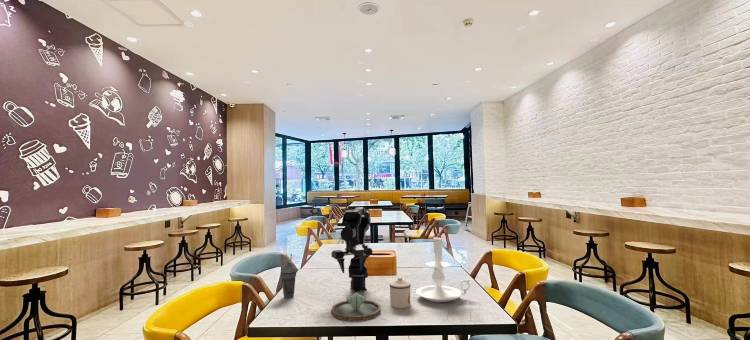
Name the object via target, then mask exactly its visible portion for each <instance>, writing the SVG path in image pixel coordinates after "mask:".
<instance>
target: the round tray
mask: <svg viewBox="0 0 750 340" xmlns="http://www.w3.org/2000/svg"><path fill="white" fill-rule="evenodd" d="M381 306H382V305H381V304H379V303H378V302H376V301H374V300H368V299H365V301H364V302H363V303H362V304H361V307H360V308H359V309H358V310H355V309H353V308H352V306H351V304H350V303H349V302H348V301H347V300H342V301H339V302H337V303H336V304H335V303H334V304H333V305H332V307H331V309H330V314H331V315H332V316H333V317H334V318H335V319H337V320H342V321H345V322H360V321H361V322H362V320H363V321H367V320H366V319H368V320H371V319H374V318H377V317H378V316H379V315H380V314H382V313H381V312H382V310H381Z"/></svg>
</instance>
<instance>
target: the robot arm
mask: <svg viewBox="0 0 750 340" xmlns="http://www.w3.org/2000/svg"><path fill="white" fill-rule="evenodd" d="M341 220H342V222H341V226H342V227H343V226H344V228H342V229H341V231H340V238H341V239H342V240H343V241H344V242H345V248H344V251H343V250H341V249H336V250H332V251H331V253H330V254H331V257H332V258H333V259H335V260H336V261H337V262H338V266H339V267H340V270H341V272H342V274H345V260H346V258H345V256H353V257H351V259H350V262H349V263H350V264H349V265H348V277H349V278H350V279H351V280H350V287H349V289H350V290H352V292H353V291H354V292H355V293H358V292H362V291H363V292H364V291H367V290H368V288H366V279H367V278H369V273H368V272H369V271H368V268H367V265H366V261H367V259H368V258H369V257H371V255H373V249H372V248H371V247H369V246H368V244H367V243H365V242H366V233H367V232H368V230H369V229H370V225H371V220H372V219H371V215H370V213H369V212H368V211H367V210H366V208H365V207H362V206H361V207H355V208H354V209H351V210H345V211H344V213H343V215H342V219H341Z"/></svg>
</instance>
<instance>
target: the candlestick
mask: <svg viewBox="0 0 750 340" xmlns="http://www.w3.org/2000/svg"><path fill="white" fill-rule="evenodd" d="M433 253H434V261H428V262H425V265H426V266H427V267H431V268H433V269H434V271H433V273H432V274H431V278H432V281H433V283H435V285H425V286H421V287H419V288H417V289H416V290H415V293H416V294H417V295H418V296H419V297H421V298H423V299H424V300H427V301H430V302H434V303H435V302H436V303H446V302H452V301H454V300H456V299H457V298H460V297H462V296H463V295H464V296H465V295H466V294H467V291H468V290H469V288H470V281H471V279H462V280H461V281H459V284H458V286H459V288H460V289H461V290H460V289H458V288H456V287H452V286H448V285H447V286H446V285H442V284H443V283H444V281H445V279H446V276H445V274H444V272H443V269H444V268H447V267H450V266H451V265H452V264H451V263H449V262H446V261H442V260H443V238H441V237H439V236H438V237H437V236H435V237H433ZM463 283H467V286H466V287H465V288H464V287H462V284H463ZM462 291H463V292H462Z"/></svg>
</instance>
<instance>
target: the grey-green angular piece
mask: <svg viewBox="0 0 750 340" xmlns="http://www.w3.org/2000/svg"><path fill="white" fill-rule="evenodd" d="M365 300H367V298H366V297H365V296H363V295H361V294H359V293H358V292H355V293H354V292H353V294H351V295H350V296H348V297H347V298H346V301H348V302H349V303H350V304H351V306H352V308H353V309H355V310H358V309H359V308H360V307H361V304H362V303H363V302H364V301H365Z"/></svg>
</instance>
